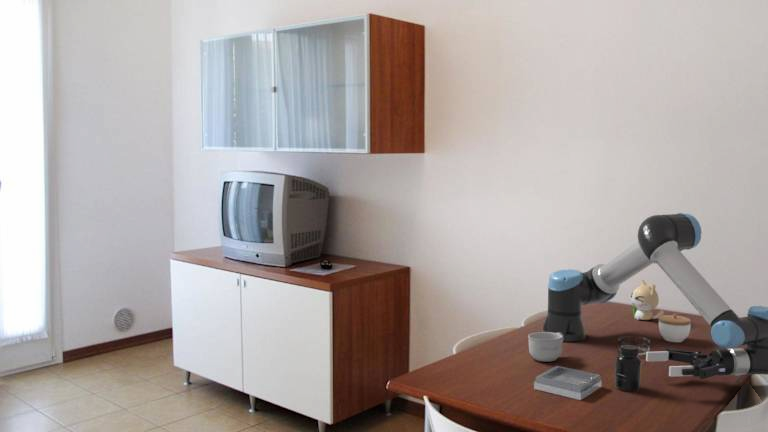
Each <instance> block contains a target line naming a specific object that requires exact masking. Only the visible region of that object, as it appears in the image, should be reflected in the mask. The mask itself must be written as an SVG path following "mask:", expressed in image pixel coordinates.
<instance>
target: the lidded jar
mask: <svg viewBox="0 0 768 432" xmlns="http://www.w3.org/2000/svg"><path fill="white" fill-rule="evenodd" d="M691 324H692V319H691V318H689V317H687V316H682V315H677V313H673V314H663V315H662V316H660V317H659V318H658V329H659V333H660V335H661V336H662V338H663V339H664V341H666V342H671V343H682V342H684V341H685V340H686V339H687V338H688V337H689V335H690V332H691Z"/></svg>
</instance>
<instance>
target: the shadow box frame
mask: <svg viewBox="0 0 768 432" xmlns="http://www.w3.org/2000/svg"><path fill="white" fill-rule="evenodd" d="M602 382H603V381H602V379H601V374H597V373H592V372H588V371H584V370H579V369H574V368H570V367H565V366H561V365H555V366H553V367H552V368H550V369H548V370H545V371H544V372H542V373H540V374H538V375H536V376H535V381H534V382H533V389H534V390H537V391H542V392H546V393H550V394H554V395H557V396H560V397H561V396H562V397H564V398H565V397H566V398H569V399H573V400H578V401H582V400H583V399H585V398H587V397H588V396H589V395H591V394H593V393H594V392H596V391H597V390H599V389H600V388H602Z"/></svg>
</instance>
